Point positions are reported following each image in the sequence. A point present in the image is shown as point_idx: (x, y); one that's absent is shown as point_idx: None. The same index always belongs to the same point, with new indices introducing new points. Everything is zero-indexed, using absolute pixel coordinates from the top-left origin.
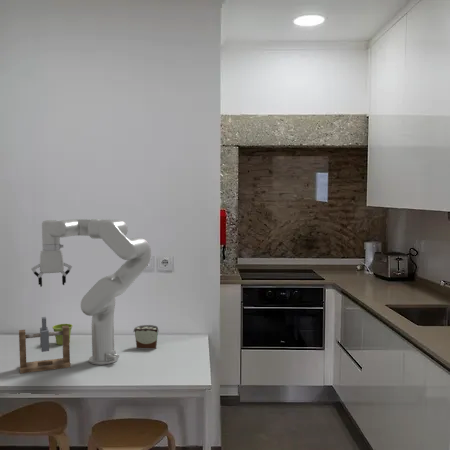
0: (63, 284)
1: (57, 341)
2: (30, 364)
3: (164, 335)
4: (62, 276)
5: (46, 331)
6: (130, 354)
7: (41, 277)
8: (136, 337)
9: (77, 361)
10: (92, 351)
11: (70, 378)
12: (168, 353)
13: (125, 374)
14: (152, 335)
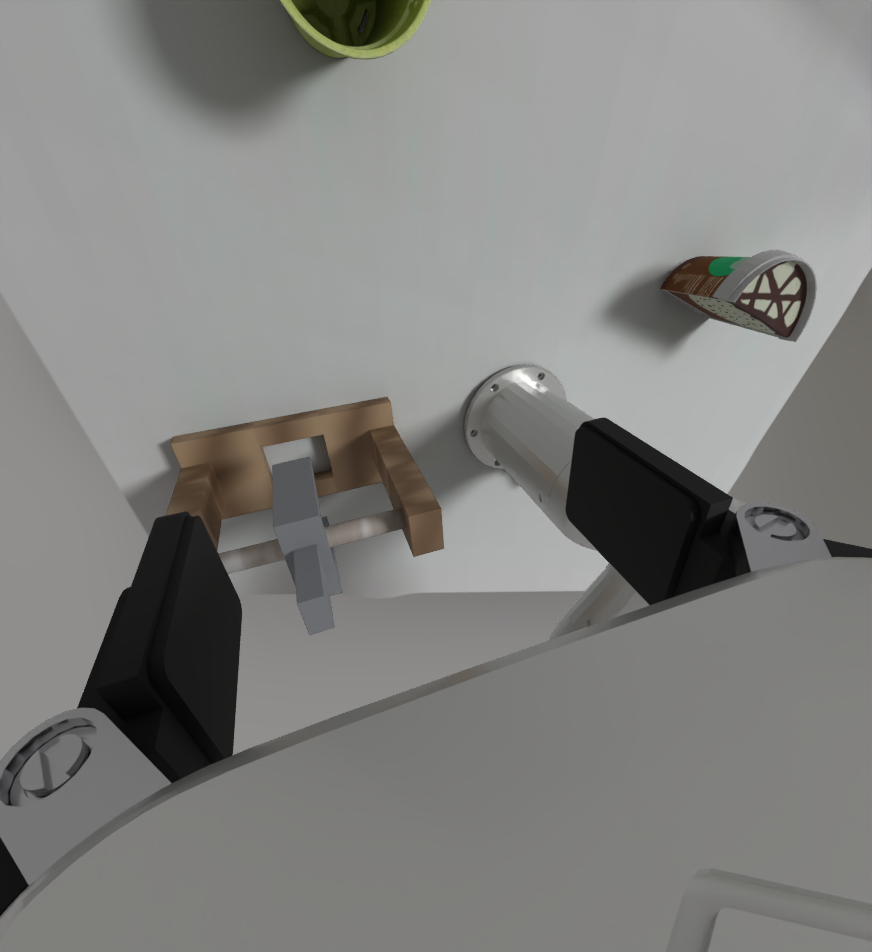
0: (576, 521)
1: (296, 23)
2: (232, 467)
3: (848, 85)
4: (666, 590)
5: (330, 595)
6: (613, 365)
7: (189, 718)
8: (699, 296)
9: (422, 410)
10: (493, 447)
11: (400, 561)
12: (713, 382)
13: (544, 540)
14: (751, 324)
